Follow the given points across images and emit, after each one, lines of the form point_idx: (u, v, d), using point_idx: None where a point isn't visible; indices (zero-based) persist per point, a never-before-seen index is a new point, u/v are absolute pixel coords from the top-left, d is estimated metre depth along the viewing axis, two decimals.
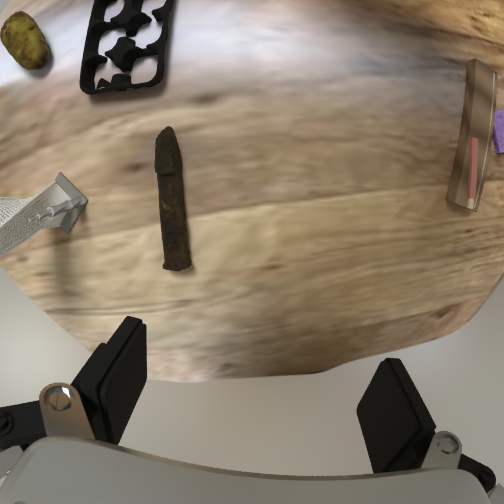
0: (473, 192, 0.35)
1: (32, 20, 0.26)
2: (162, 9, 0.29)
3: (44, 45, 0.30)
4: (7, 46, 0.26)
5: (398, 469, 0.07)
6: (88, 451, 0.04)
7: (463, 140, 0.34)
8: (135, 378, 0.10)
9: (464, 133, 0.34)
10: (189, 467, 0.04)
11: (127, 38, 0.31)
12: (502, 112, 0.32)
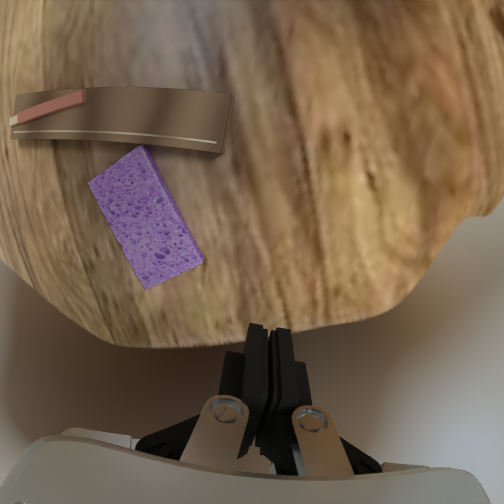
0: (22, 117, 0.22)
1: None
2: None
3: None
4: None
5: (267, 441, 0.08)
6: (88, 451, 0.04)
7: None
8: None
9: None
10: (189, 467, 0.04)
11: None
12: (152, 175, 0.26)
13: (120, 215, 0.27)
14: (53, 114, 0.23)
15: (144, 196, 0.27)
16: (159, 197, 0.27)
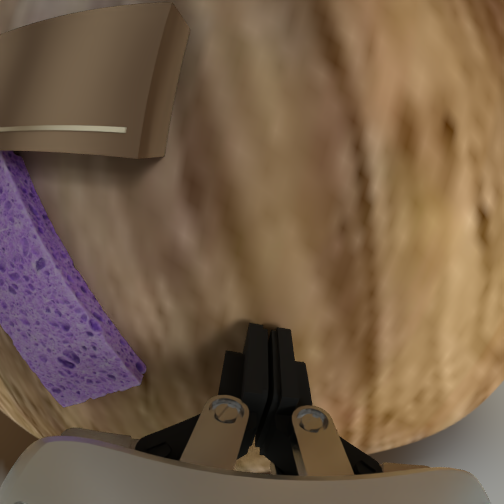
0: None
1: None
2: None
3: None
4: None
5: (267, 441, 0.08)
6: (88, 451, 0.04)
7: None
8: None
9: None
10: (189, 468, 0.04)
11: None
12: (21, 213, 0.10)
13: None
14: None
15: (17, 255, 0.11)
16: (39, 257, 0.11)
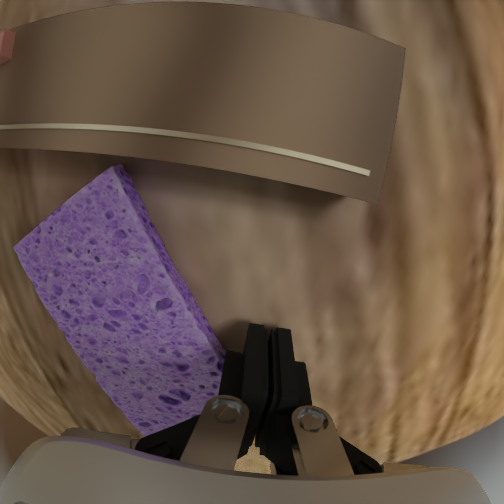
0: None
1: None
2: None
3: None
4: None
5: (267, 441, 0.08)
6: (88, 451, 0.04)
7: None
8: None
9: None
10: (189, 467, 0.04)
11: None
12: (143, 247, 0.10)
13: (80, 321, 0.12)
14: None
15: (127, 292, 0.11)
16: (162, 297, 0.11)
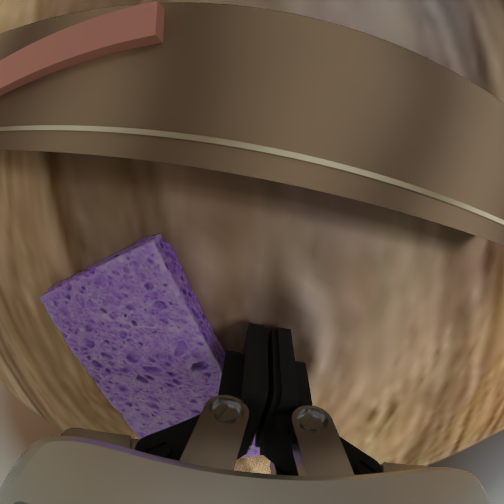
0: None
1: None
2: None
3: None
4: None
5: (267, 441, 0.08)
6: (88, 451, 0.04)
7: None
8: None
9: None
10: (189, 468, 0.04)
11: None
12: (183, 319, 0.11)
13: (112, 372, 0.12)
14: (50, 79, 0.07)
15: (164, 353, 0.12)
16: (199, 360, 0.12)
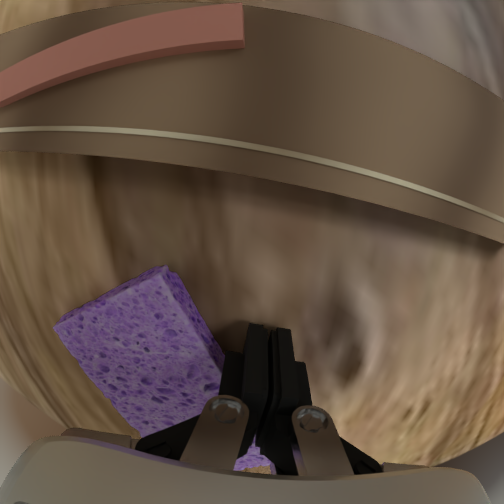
0: (5, 87, 0.06)
1: None
2: None
3: None
4: None
5: (267, 441, 0.08)
6: (88, 451, 0.04)
7: None
8: None
9: None
10: (190, 467, 0.04)
11: None
12: (193, 345, 0.11)
13: (128, 393, 0.13)
14: (106, 75, 0.07)
15: (177, 376, 0.12)
16: (211, 381, 0.12)
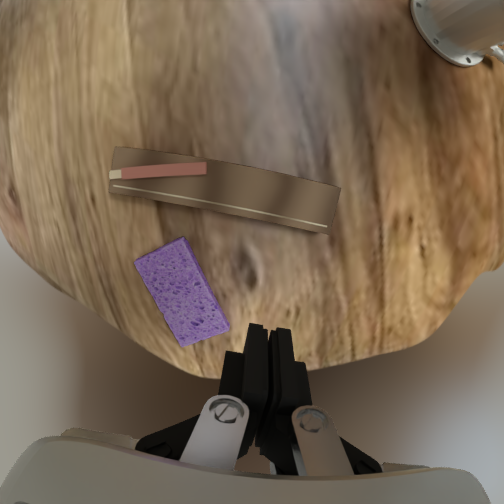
0: (129, 174, 0.29)
1: None
2: None
3: None
4: None
5: (267, 441, 0.08)
6: (88, 451, 0.04)
7: (202, 158, 0.30)
8: None
9: None
10: (189, 467, 0.04)
11: None
12: (191, 264, 0.34)
13: (162, 291, 0.35)
14: (167, 177, 0.30)
15: (184, 279, 0.34)
16: (197, 281, 0.34)
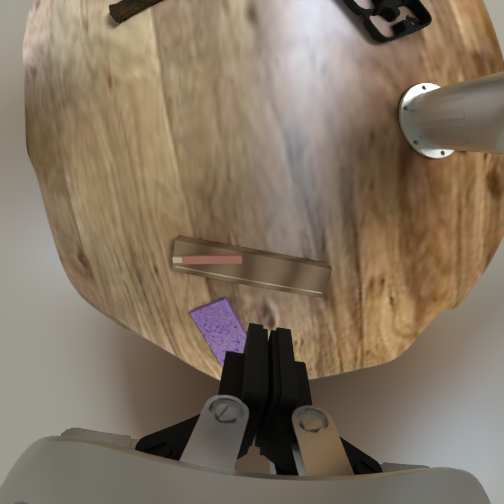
0: (187, 261, 0.45)
1: None
2: None
3: None
4: None
5: (267, 441, 0.08)
6: (88, 451, 0.04)
7: (238, 249, 0.46)
8: None
9: (246, 250, 0.46)
10: (189, 467, 0.04)
11: None
12: (231, 315, 0.50)
13: (210, 331, 0.51)
14: None
15: (226, 324, 0.51)
16: (235, 325, 0.51)
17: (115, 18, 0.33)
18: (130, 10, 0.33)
